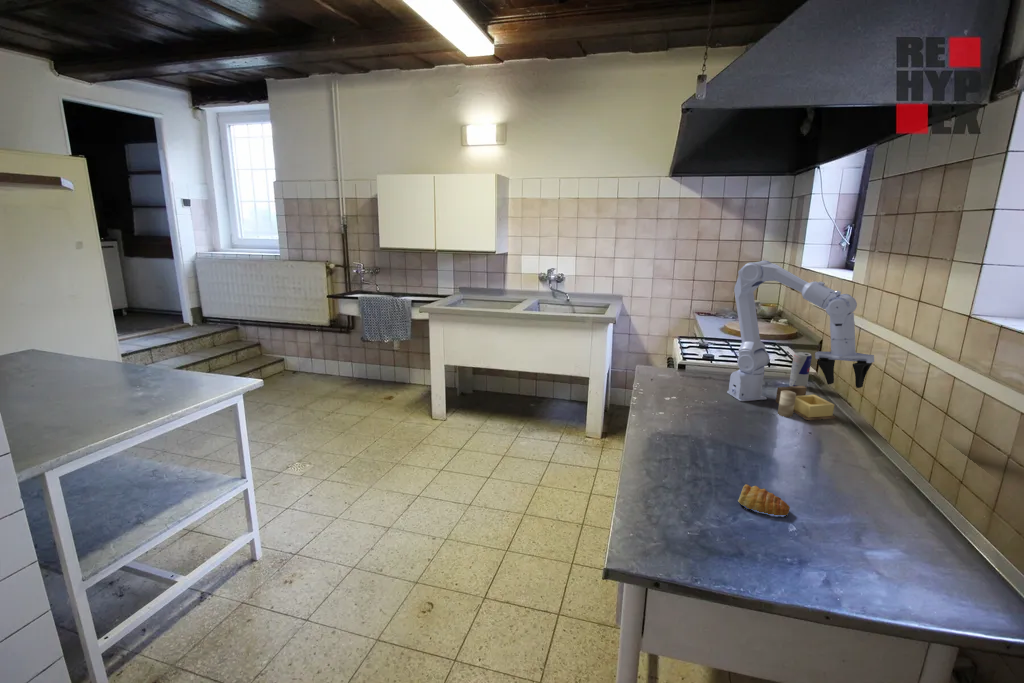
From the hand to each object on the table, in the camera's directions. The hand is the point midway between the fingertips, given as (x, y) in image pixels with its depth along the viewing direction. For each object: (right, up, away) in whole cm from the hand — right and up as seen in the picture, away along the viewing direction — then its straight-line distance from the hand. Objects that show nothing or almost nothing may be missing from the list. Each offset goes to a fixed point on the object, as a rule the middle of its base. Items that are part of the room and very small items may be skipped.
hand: (844, 385), depth 139 cm
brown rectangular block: (-5, -9, +12) cm, 15 cm away
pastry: (-42, -23, -35) cm, 59 cm away
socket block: (-4, -9, +9) cm, 14 cm away
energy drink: (+5, -3, +31) cm, 31 cm away
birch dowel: (-12, -10, +9) cm, 18 cm away
